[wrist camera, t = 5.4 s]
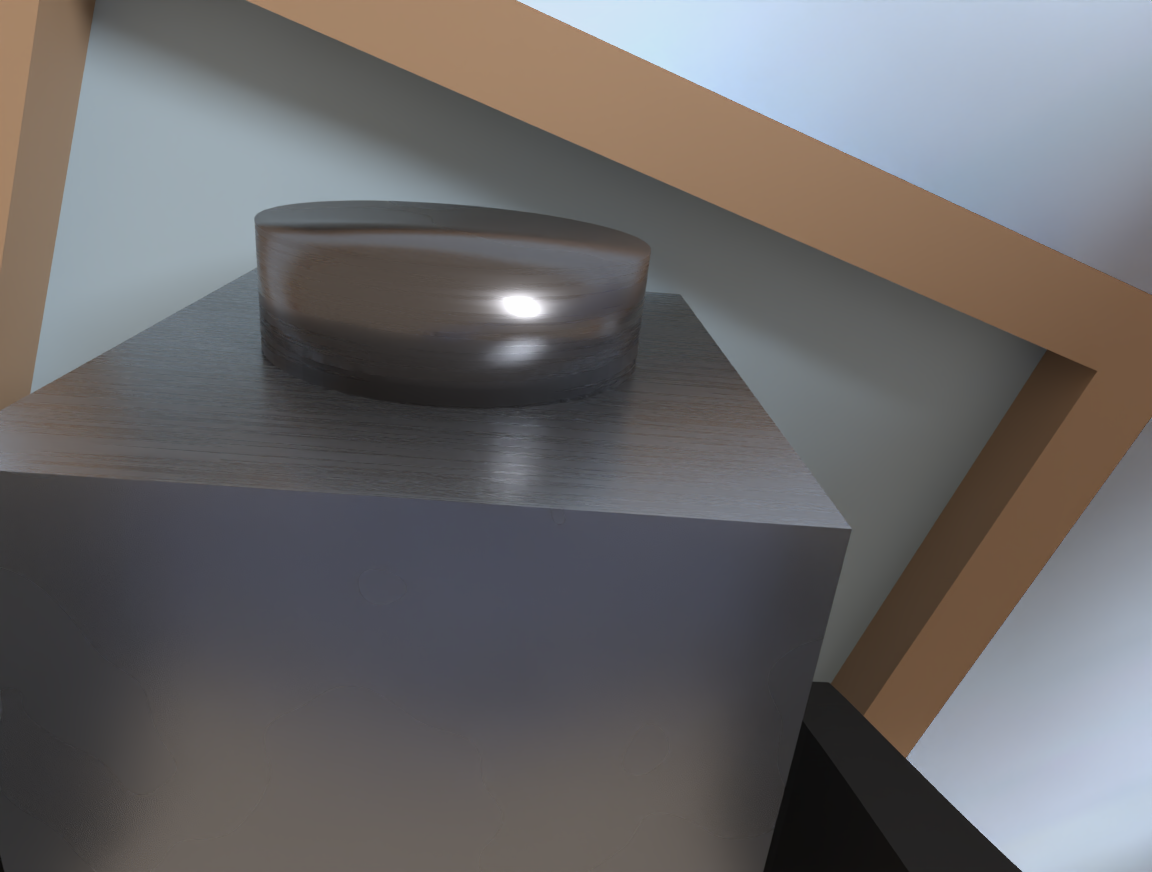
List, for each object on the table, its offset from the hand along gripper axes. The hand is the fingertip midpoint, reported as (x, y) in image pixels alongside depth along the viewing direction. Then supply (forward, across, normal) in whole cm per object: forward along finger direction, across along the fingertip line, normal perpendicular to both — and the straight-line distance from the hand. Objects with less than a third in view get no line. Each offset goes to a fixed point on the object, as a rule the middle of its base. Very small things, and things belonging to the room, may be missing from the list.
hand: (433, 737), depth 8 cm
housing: (+3, 0, 0) cm, 3 cm away
